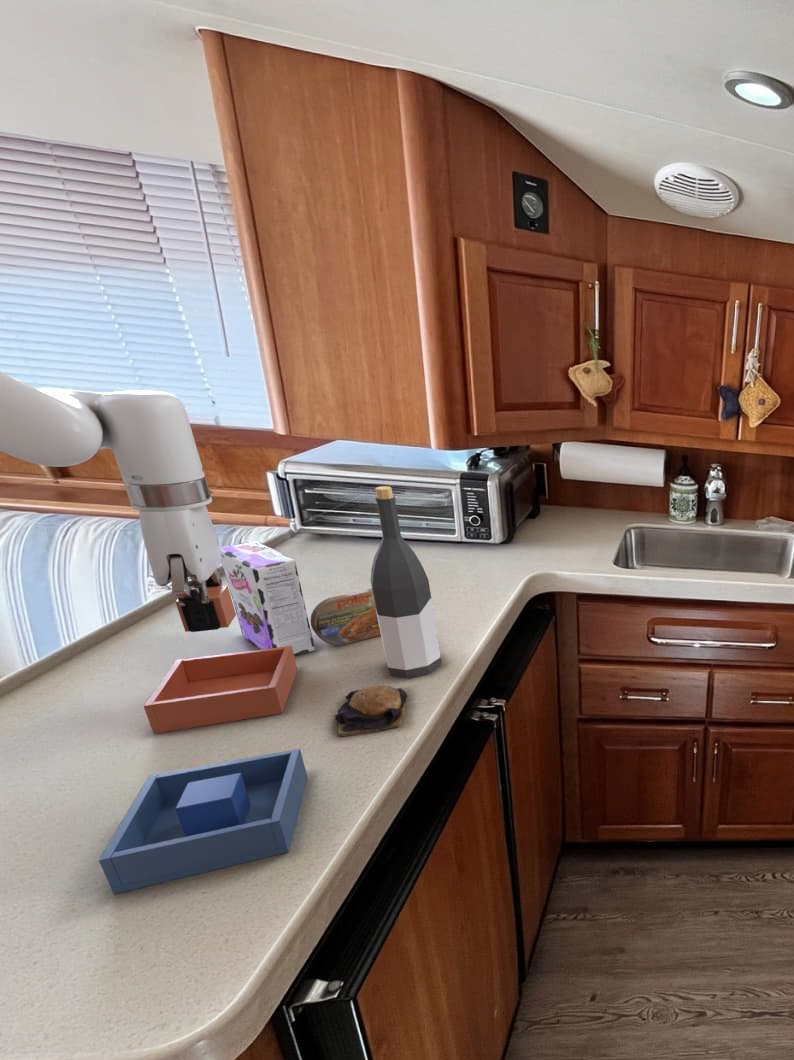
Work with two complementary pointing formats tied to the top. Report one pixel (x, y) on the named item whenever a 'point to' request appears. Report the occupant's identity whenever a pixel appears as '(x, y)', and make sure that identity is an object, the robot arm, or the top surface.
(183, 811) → the blue block
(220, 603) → the terracotta block
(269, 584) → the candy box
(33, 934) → the top surface
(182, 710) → the terracotta bin
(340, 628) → the tin
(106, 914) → the top surface
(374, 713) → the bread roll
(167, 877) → the blue bin
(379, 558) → the wine bottle
